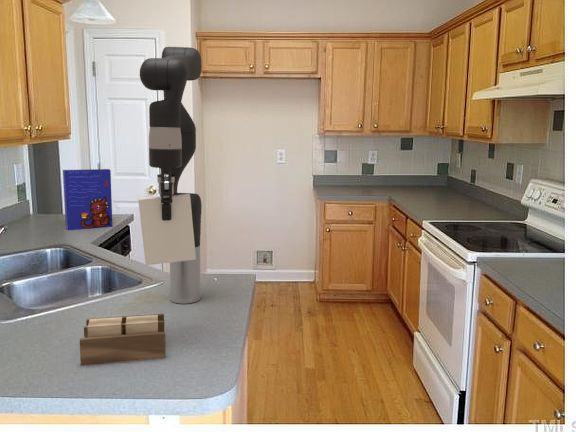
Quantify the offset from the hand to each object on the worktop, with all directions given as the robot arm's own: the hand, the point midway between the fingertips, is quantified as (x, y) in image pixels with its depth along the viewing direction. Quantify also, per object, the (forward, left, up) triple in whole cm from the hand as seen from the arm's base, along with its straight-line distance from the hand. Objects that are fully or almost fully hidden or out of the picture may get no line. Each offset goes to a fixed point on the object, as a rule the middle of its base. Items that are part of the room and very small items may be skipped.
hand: (166, 218), depth 122 cm
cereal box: (-150, -36, -31) cm, 158 cm away
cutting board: (0, +1, -11) cm, 11 cm away
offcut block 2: (+9, -6, -30) cm, 32 cm away
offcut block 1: (+9, -14, -30) cm, 34 cm away
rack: (+6, -10, -31) cm, 33 cm away
